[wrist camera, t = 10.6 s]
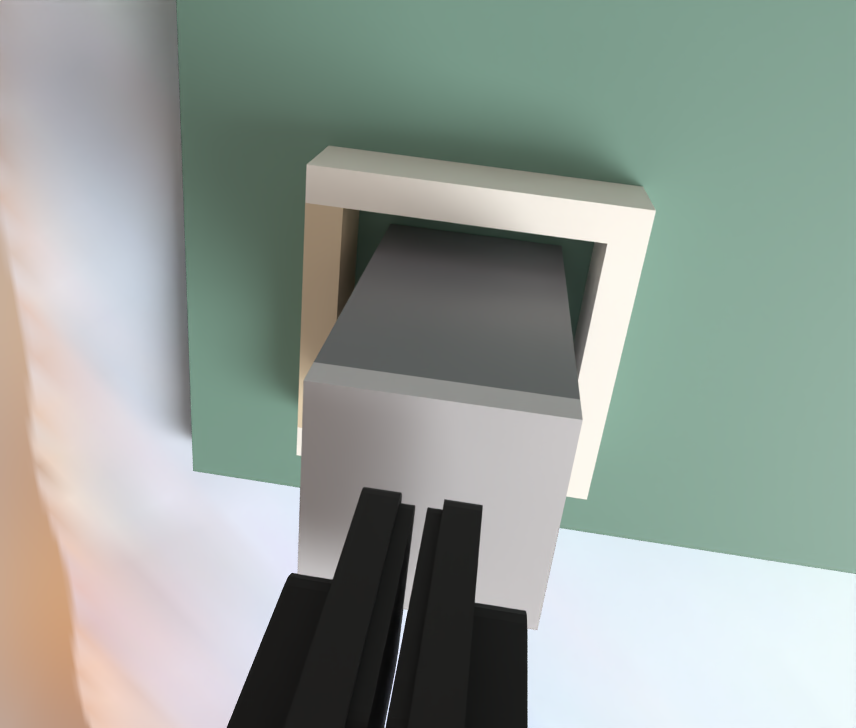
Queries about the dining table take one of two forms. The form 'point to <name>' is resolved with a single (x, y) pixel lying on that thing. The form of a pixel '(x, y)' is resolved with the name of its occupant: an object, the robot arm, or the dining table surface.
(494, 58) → the board
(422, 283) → the plug
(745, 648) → the dining table surface
